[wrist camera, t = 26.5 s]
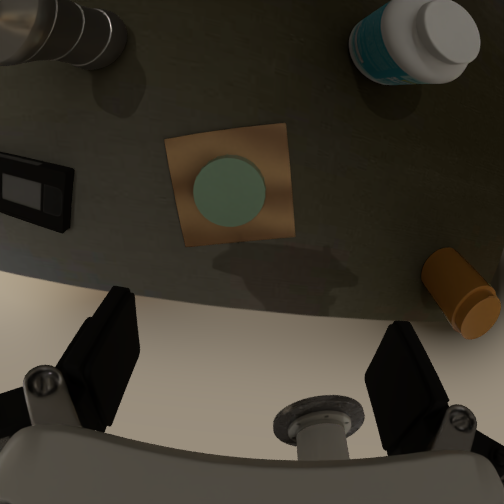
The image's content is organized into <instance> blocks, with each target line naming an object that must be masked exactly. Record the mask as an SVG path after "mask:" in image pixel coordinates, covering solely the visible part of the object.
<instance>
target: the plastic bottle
mask: <svg viewBox="0 0 504 504" xmlns="http://www.w3.org/2000/svg"><path fill="white" fill-rule="evenodd" d="M126 41H127V29H126V26H125V24H124V23H123V21H122V20H121V19H120V18H119V17H118V16H117V15H116V14H115V13H113V12H111V11H108V10H104V9H97V8H89V7H85V6H81V5H78V4H76V3H74V2H72V1H70V0H0V66H10V65H17V64H22V63H27V62H33V61H43V60H56V61H61V62H65V63H69V64H71V65H73V66H75V67H78V68H81V69H84V70H95V69H100V68H103V67H106V66H108V65H110V64H112V63H113V62H114V61H115V60H116V59H117V58H118V57H119V56H120V55H121V53H122V52H123V50H124V48H125V45H126Z"/></svg>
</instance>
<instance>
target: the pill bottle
mask: <svg viewBox="0 0 504 504" xmlns="http://www.w3.org/2000/svg"><path fill="white" fill-rule="evenodd" d="M479 50H480V36H479V32H478V29H477V26H476V24H475V22H474V20H473V19H472V17H471V16H470V15H469V13H468V12H467V11H466V10H465V9H464V8H463V7H461V6H460V5H459V4H457V3H455V2H453V1H451V0H391V1H390V2H388V3H387V4H385V5H384V6H382V7H381V8H379V9H378V10H376V11H375V12H373V13H372V14H370V15H369V16H367V17H366V18H364V19H363V20H362V21H360V22H359V23H358V24H357V25H356V26H355V27H354V28H353V30H352V32H351V34H350V38H349V51H350V55H351V58H352V60H353V62H354V64H355V65H356V67H357V68H358V69H359V71H360V72H361V73H362V74H363V75H365V76H366V77H367V78H369V79H371V80H372V81H374V82H377V83H380V84H384V85H403V84H442V83H447V82H450V81H452V80H454V79H456V78H457V77H458V76H460V75H461V74H462V72H463V71H464V70H465V68H466V66H467V64H468V63H469V62H471V61H473V60H474V59H475V58H476V56H477V55H478V53H479Z"/></svg>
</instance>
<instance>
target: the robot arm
mask: <svg viewBox="0 0 504 504" xmlns="http://www.w3.org/2000/svg"><path fill="white" fill-rule="evenodd" d="M139 353H140V344H139V335H138V326H137V317H136V307H135V295H134V293H130V289H129V288H125V287H119V286H113V287H112V288H111V290H110V291H109V293H108V294H107V296H106V297H105V298H104V300H103V302H102V303H101V304H100V306H99V307H98V309H97V310H96V312H95V313H94V315H93V316H92V317H88V318H87V319H86V320H85V321H84V323H83V324H82V326H81V327H80V329H79V331H78V332H77V334H76V335H75V337H74V338H73V340H72V341H71V343H70V344H69V346H68V347H67V349H66V351H65V352H64V354H63V356H62V357H61V359H60V360H59V362H58V364H57V365H56V367H53V366H50V365H40V366H37V367H35V368H33V369H31V370H30V371H29V372H28V373H27V374H26V375H25V378H24V380H23V387H20V388H16V389H14V390H10V391H7V392H4V393H1V394H0V504H504V446H503V445H501V444H499V443H498V442H496V441H494V440H493V439H491V438H489V437H488V436H486V435H484V434H482V433H481V432H479V431H477V430H476V428H477V421H476V417H475V416H474V414H473V413H472V412H471V411H470V409H468V408H467V407H465V406H462V405H457V404H456V405H452V406H450V407H449V406H448V401H449V398H448V396H447V394H446V392H445V390H444V388H443V386H442V383H441V381H440V380H439V377H438V375H437V373H436V371H435V369H434V367H433V365H432V363H431V362H430V359H429V357H428V355H427V353H426V351H425V350H424V347H423V346H422V344H421V342H420V340H419V338H418V336H417V334H416V332H415V331H414V329H413V327H412V325H411V323H410V322H408V321H394V322H393V324H390V325H389V326H388V328H387V330H386V333H385V335H384V337H383V339H382V341H381V343H380V345H379V347H378V349H377V351H376V354H375V355H374V357H373V359H372V362H371V363H370V365H369V367H368V369H367V371H366V373H365V383H366V387H367V390H368V394H369V398H370V401H371V405H372V408H373V412H374V416H375V419H376V423H377V427H378V431H379V435H380V439H381V442H382V447H383V449H384V450H385V451H386V450H387V454H388V456H385V457H376V458H363V459H349V453H348V447H347V441H346V436H345V434H346V433H347V432H348V431H349V430H350V428H351V419H350V417H349V416H348V415H347V414H345V413H343V412H339V411H333V410H324V411H317V412H312V413H308V414H305V415H303V416H301V417H299V418H297V419H296V420H294V421H293V422H292V423H291V424H290V425H289V427H288V436H289V437H290V439H292V440H293V441H295V442H297V454H298V461H291V460H267V459H251V458H240V457H229V456H220V455H213V454H205V453H198V452H192V451H186V450H180V449H174V448H169V447H164V446H159V445H154V444H149V443H144V442H140V441H136V440H132V439H127V438H123V437H119V436H115V435H112V434H107V433H104V432H105V429H106V427H107V426H111V425H112V423H113V420H114V418H115V415H116V413H117V410H118V407H119V405H120V402H121V400H122V397H123V394H124V392H125V389H126V387H127V384H128V381H129V379H130V377H131V374H132V372H133V369H134V367H135V364H136V362H137V360H138V357H139ZM95 430H96V431H95Z"/></svg>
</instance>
